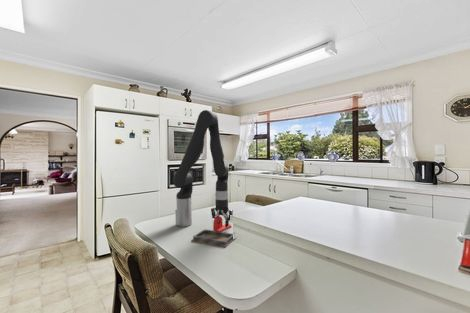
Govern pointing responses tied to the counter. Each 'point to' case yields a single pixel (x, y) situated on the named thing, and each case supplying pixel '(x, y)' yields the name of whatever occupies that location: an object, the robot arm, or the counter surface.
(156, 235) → the counter surface
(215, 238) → the plate
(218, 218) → the bracket
